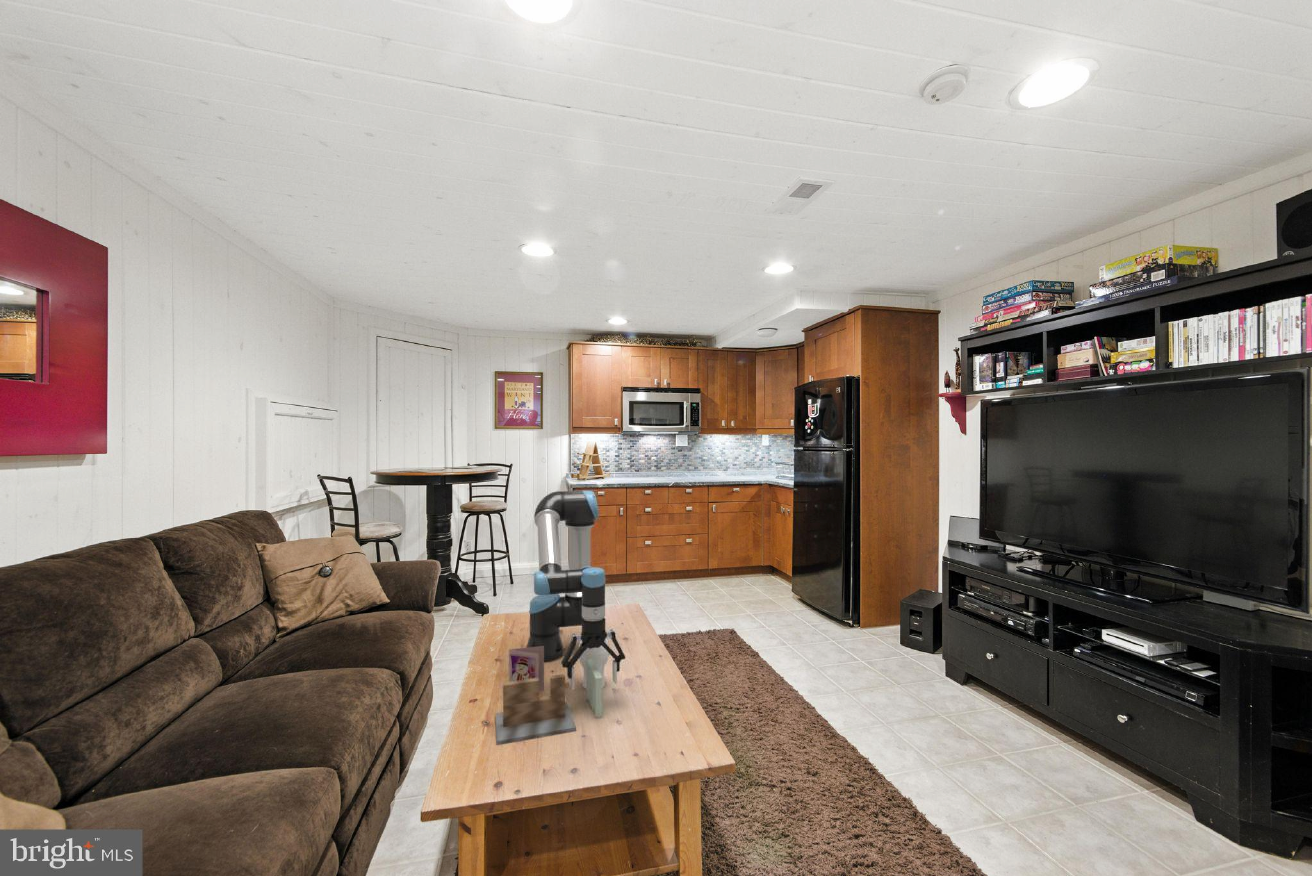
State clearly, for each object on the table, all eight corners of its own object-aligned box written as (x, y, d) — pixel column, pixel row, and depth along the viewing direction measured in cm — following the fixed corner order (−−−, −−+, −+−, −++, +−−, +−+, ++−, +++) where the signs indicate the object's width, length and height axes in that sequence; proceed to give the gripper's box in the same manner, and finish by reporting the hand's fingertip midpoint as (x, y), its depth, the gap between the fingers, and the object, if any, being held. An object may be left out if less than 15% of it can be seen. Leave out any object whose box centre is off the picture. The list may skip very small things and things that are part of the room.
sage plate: (586, 695, 174) (586, 659, 175) (592, 694, 175) (592, 658, 175) (596, 718, 160) (595, 678, 160) (602, 717, 161) (602, 677, 161)
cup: (604, 693, 176) (603, 648, 176) (573, 690, 178) (573, 646, 178) (613, 679, 186) (612, 636, 187) (584, 677, 189) (584, 634, 189)
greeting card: (507, 695, 175) (507, 650, 175) (520, 686, 182) (520, 642, 182) (537, 701, 171) (537, 655, 171) (549, 691, 178) (549, 646, 178)
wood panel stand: (497, 744, 146) (497, 697, 146) (495, 716, 161) (495, 673, 161) (576, 730, 153) (575, 685, 153) (567, 704, 168) (567, 664, 168)
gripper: (555, 625, 161) (556, 696, 160) (634, 617, 169) (634, 684, 168) (552, 618, 168) (552, 685, 167) (628, 610, 176) (628, 674, 175)
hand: (593, 685), depth 168 cm, fingers open, 13 cm apart
